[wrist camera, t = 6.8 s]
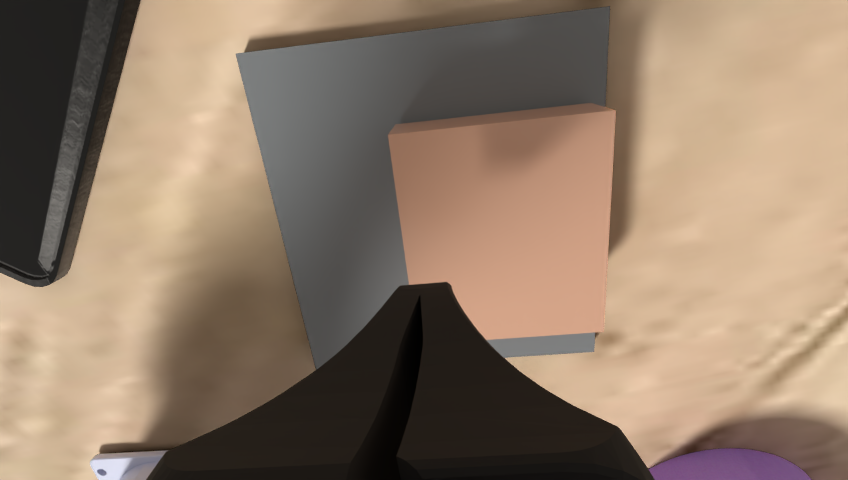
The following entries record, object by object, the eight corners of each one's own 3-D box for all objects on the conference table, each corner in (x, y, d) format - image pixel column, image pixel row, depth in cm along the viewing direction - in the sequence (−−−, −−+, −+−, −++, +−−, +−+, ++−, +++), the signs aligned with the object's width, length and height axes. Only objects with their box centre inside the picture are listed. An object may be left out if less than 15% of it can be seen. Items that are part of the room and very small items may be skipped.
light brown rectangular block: (420, 307, 19) (582, 295, 19) (417, 344, 17) (604, 331, 16) (396, 123, 16) (588, 102, 16) (387, 134, 14) (615, 110, 13)
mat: (590, 343, 20) (594, 351, 20) (319, 362, 21) (316, 369, 21) (603, 8, 15) (610, 6, 14) (242, 53, 16) (235, 53, 15)
